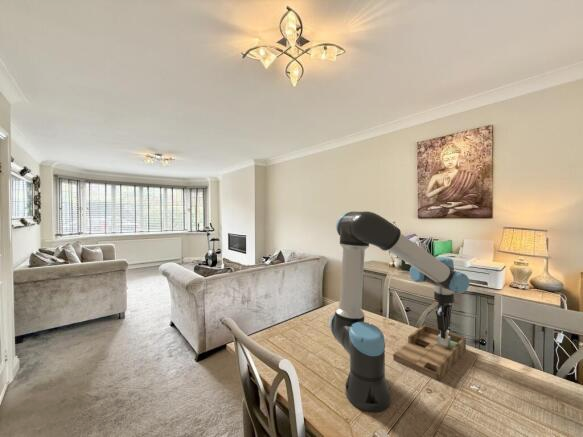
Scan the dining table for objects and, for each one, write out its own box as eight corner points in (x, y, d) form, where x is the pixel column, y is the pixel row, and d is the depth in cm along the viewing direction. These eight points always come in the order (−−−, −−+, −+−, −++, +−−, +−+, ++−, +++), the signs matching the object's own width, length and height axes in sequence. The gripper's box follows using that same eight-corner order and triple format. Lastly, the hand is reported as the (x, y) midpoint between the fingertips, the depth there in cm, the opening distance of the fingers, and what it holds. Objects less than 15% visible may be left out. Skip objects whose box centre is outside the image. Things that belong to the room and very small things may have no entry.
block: (447, 348, 109) (447, 339, 109) (437, 344, 112) (437, 335, 112) (450, 345, 112) (450, 336, 112) (440, 341, 115) (440, 333, 115)
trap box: (439, 381, 92) (439, 367, 91) (393, 360, 105) (393, 347, 105) (465, 349, 112) (465, 338, 112) (424, 335, 126) (424, 324, 126)
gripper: (448, 297, 102) (448, 353, 102) (458, 291, 110) (458, 342, 111) (428, 293, 108) (429, 346, 108) (440, 287, 116) (440, 336, 117)
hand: (444, 344), depth 110 cm, fingers closed
